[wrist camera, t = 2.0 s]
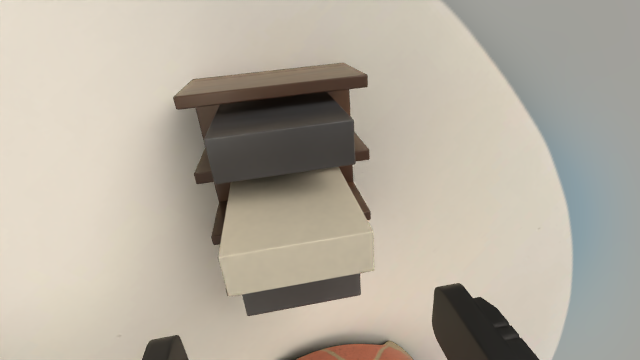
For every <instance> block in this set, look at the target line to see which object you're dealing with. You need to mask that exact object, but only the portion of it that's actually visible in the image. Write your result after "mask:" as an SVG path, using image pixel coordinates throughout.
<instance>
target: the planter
mask: <svg viewBox="0 0 640 360" xmlns="http://www.w3.org/2000/svg"><path fill="white" fill-rule="evenodd" d="M296 360H413V359H412V358H411V356H410V355H409V354H408V353H407V352H406V351H405V350H404V349H402V348H401V347H400V346H398V345H397V344H395V343H394V342H391V341H387V342H386V343H385V344H384V345H373V344H348V345H340V346H334V347H329V348H325V349H321V350H318V351H315V352H312V353H310V354H307V355H305V356H302V357H300V358H298V359H296Z"/></svg>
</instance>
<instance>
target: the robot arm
mask: <svg viewBox="0 0 640 360" xmlns="http://www.w3.org/2000/svg"><path fill="white" fill-rule="evenodd" d="M432 326H433V330H434V334H435V337H436V339H437V341H438V343H439V345H440V347H441V348H442V350H443V352H444V354H445V356H446V357H447V359H448V360H539V359H538V357H537V356H536V355H535V354H534V353H533V351H532V350H531V349H530V348H529V347H528V345H527V344H526V343H525V342H524V341H523V339H522V338H520V337H519V334H518V333H517V332H516V331H515V330H514V328H513V327H512V326H510V325H509V322H508V321H507V320H506V319H505V318H504V316H503V315H502V314H501V313H500V311H499V310H498V309H497V308H496V307H494V306H493V305H491V304H490V303H489V302H487V301H486V300H484V299H483V298H481V297H478V298H472V297H471V295H470V294H469V293H468V291H467V290H466V289H465V288H464V286H463V285H461V284H460V283H456V284H451V285H446V286H440V287H436V288H435V291H434V303H433V315H432ZM142 360H189V359H188V357H187V354H186V352H185V349H184V346H183V344H182V341H181V339H180V337H179V336H178V335H175V336H170V337H164V338H159V339H154V340H151V341H149V343H148V345H147V347H146V350H145V353H144V356H143V358H142Z"/></svg>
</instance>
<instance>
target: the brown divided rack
mask: <svg viewBox="0 0 640 360" xmlns="http://www.w3.org/2000/svg"><path fill="white" fill-rule="evenodd" d="M367 86H368V80H367V75H366V74H365V73H363V72H361V71H359V70H357V69H355V68H353V67H351V66H349V65H347V64H345V63H337V64H328V65H319V66H310V67H301V68H292V69H282V70H273V71H264V72H255V73H246V74H237V75H228V76H219V77H210V78H201V79H193V80H192V81H190V83H188V84H187V85H186V86H185V87H184V88H183V89H182V90H181V91H180V92H178V93H177V94H176V95H175V96H174V97H173V99H174V103H175V106H176V109H178V110H179V109H187V108H196V111H197V115H198V119H199V123H200V128H201V132H202V136H203V140H204V144H205V149H204V152H203V154H202V156H201V159H200V161H199V163H198V166H197V168H196V170H195V173H194V176H195V180H196V183H197V184H202V183H209V182H214V184H215V188H216V192H217V196H218V200H219V205H218V209H217V214H216V218H215V223H214V227H213V232H212V237H211V238H212V241H213V244H214V245H217V244H220V243H221V237H222V231H223V225H224V220H225V214H226V208H227V202H228V197H229V191H230V185H231V182H235V181H242V180H249V179H256V178H263V177H270V176H277V175H284V174H291V173H298V172H305V171H312V170H319V169H326V168H333V167H339V169H340V171H341V173H342V174H343V176H344V178H345V180H346V182H347V184H348V186H349V187H350V189H351V191H352V193H353V195H354V197H355V199H356V200H357V202H358V204H359V206H360V208H361V210H362V212H363V213H364V215H365V217H366V219H367V220H370V210H369V208H368V207H367V205H366V203H365V201H364V200H363V198H362V196H361V195H360V193H359V191H358V189H357V188H356V186H355V184H354V183H353V166H352V165H353V164H355V161H362V160H369V149H368V148H367V146H366V145H365V144H364V143H363V142H362V141H361V139H360V138H359V137H358V136H357V135H356V133H355V132H354V120H353V119H352V118H351V117H350V101H349V89H355V88H363V87H367ZM226 292H227V290H226ZM360 294H361V289H360V273H359V274H353V275H348V276H342V277H337V278H331V279H326V280H320V281H314V282H309V283H303V284H298V285H292V286H287V287H281V288H276V289H270V290H265V291H259V292H254V293H248V294H242V296H243V300H244V304H245V308H246V312H247V315H248V316H251V315H257V314H262V313H267V312H273V311H278V310H283V309H289V308H294V307H299V306H305V305H310V304H315V303H321V302H326V301H331V300H337V299H342V298H347V297H353V296H358V295H360ZM227 296H228V293H227Z"/></svg>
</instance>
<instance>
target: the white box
mask: <svg viewBox="0 0 640 360" xmlns="http://www.w3.org/2000/svg"><path fill="white" fill-rule="evenodd" d="M218 260H219V264H220V268H221V271H222V275H223V279H224V282H225V286H226V290H227V293H228V296H229V297H231V296H237V295H242V294H248V293H254V292H259V291H265V290H270V289H276V288H281V287H287V286H292V285H298V284H303V283H309V282H314V281H320V280H326V279H331V278H337V277H342V276H348V275H353V274H359V273H364V272H370V271H374V236H373V230H372V228H371V226H370V225H369V223H368V221H367V219H366V217H365V215H364V213H363V212H362V210H361V208H360V206H359V204H358V202H357V200H356V199H355V197H354V195H353V193H352V191H351V189H350V187H349V186H348V184H347V182H346V180H345V178H344V176H343V174H342V173H341V171H340V169H339V167H333V168H326V169H319V170H312V171H305V172H298V173H291V174H284V175H277V176H270V177H263V178H256V179H249V180H242V181H235V182H231V185H230V191H229V197H228V202H227V208H226V214H225V220H224V225H223V231H222V237H221V243H220V248H219V254H218Z"/></svg>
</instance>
